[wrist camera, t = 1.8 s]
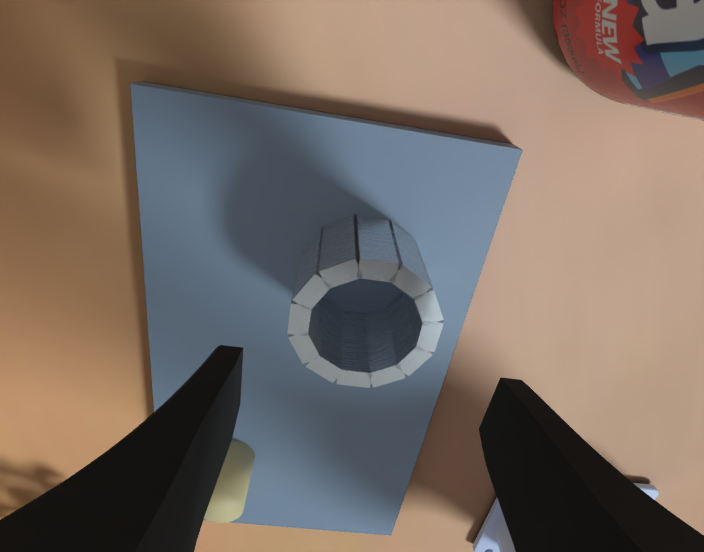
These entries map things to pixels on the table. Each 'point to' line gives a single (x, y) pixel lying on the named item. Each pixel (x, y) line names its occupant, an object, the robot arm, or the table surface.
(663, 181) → the table surface
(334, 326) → the grey hollow cylinder
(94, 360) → the table surface
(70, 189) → the table surface
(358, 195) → the plate
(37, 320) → the table surface
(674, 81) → the soda can
